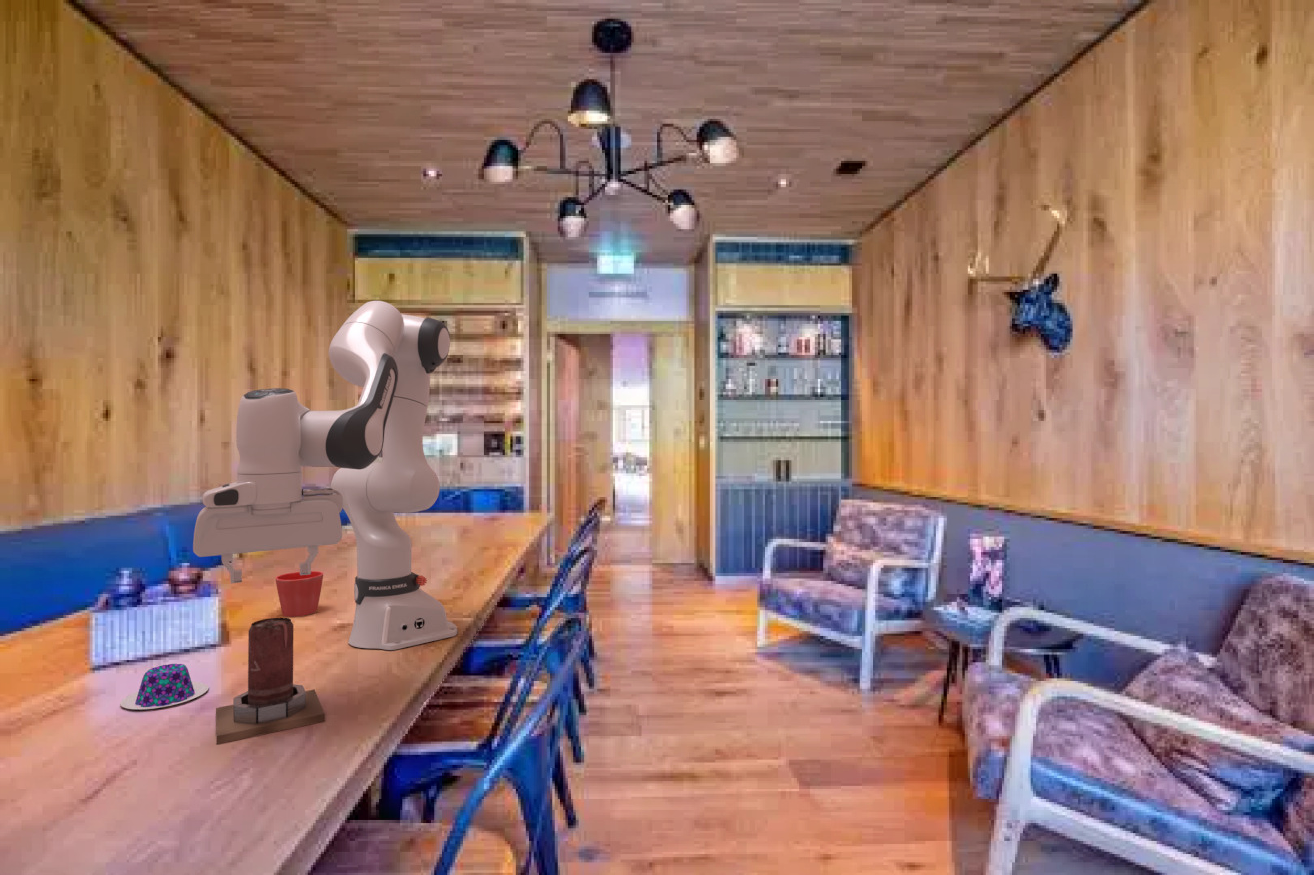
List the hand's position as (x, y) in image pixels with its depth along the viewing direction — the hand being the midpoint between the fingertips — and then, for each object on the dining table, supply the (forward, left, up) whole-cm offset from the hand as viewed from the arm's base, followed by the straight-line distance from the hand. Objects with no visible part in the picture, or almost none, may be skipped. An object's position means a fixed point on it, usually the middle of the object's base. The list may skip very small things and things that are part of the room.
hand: (271, 578), depth 103 cm
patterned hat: (+14, -19, -23) cm, 33 cm away
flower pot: (-11, -68, -22) cm, 73 cm away
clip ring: (0, 0, -21) cm, 21 cm away
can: (0, 0, -21) cm, 21 cm away
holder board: (0, 0, -22) cm, 22 cm away
